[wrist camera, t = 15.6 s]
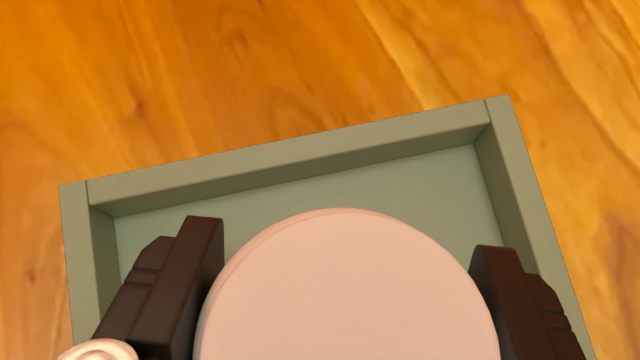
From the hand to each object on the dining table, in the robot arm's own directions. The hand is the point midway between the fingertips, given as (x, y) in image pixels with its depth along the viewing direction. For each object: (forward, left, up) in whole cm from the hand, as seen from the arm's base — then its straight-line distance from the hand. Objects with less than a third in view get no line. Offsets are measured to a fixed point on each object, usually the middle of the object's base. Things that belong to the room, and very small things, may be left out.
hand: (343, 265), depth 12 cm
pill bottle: (+1, +2, -5) cm, 6 cm away
